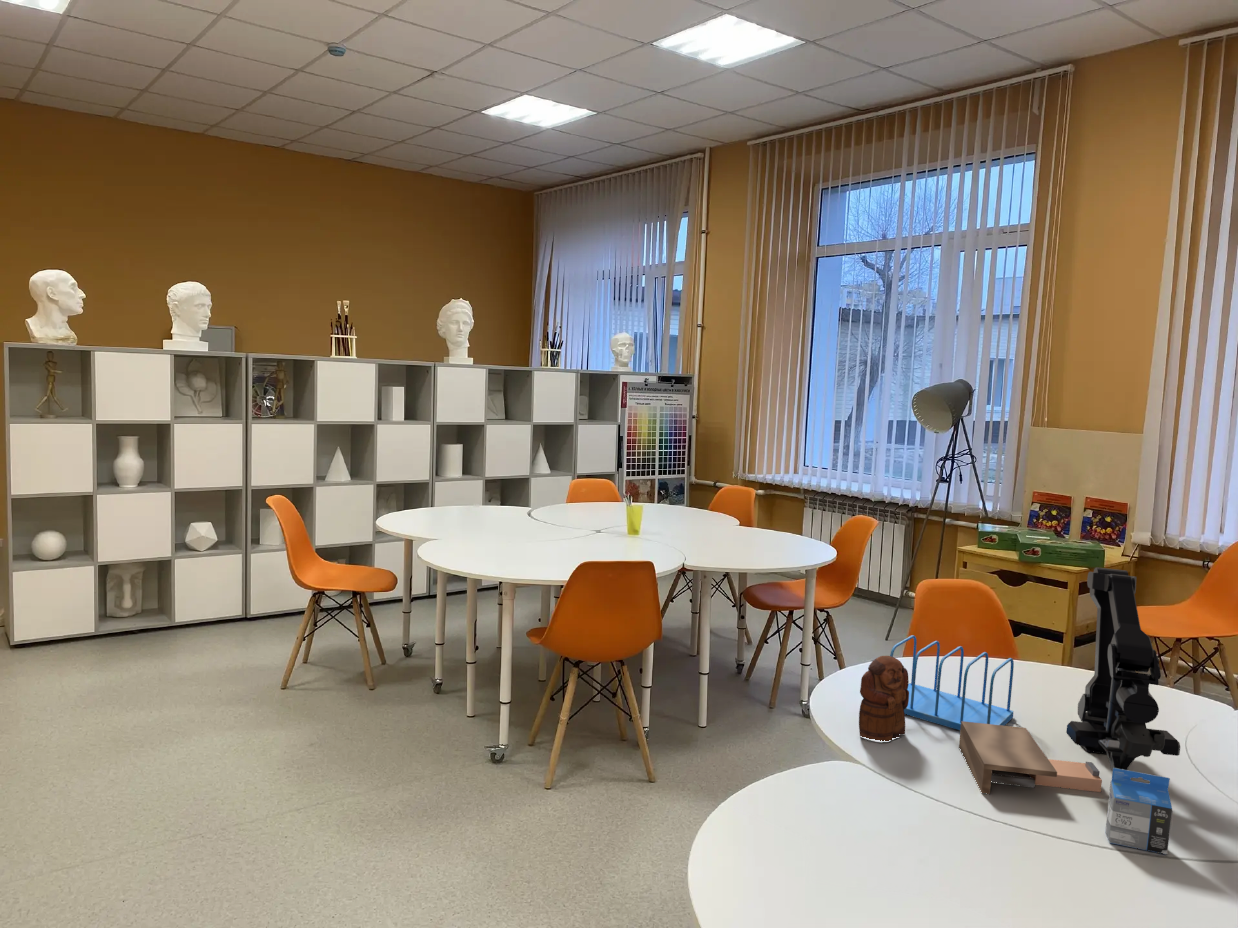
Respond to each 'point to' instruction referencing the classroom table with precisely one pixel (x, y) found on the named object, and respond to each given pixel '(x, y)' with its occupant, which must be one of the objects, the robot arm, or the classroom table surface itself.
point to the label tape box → (1139, 811)
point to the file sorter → (950, 706)
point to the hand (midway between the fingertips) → (1117, 778)
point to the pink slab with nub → (1072, 776)
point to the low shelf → (1002, 754)
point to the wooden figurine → (883, 699)
